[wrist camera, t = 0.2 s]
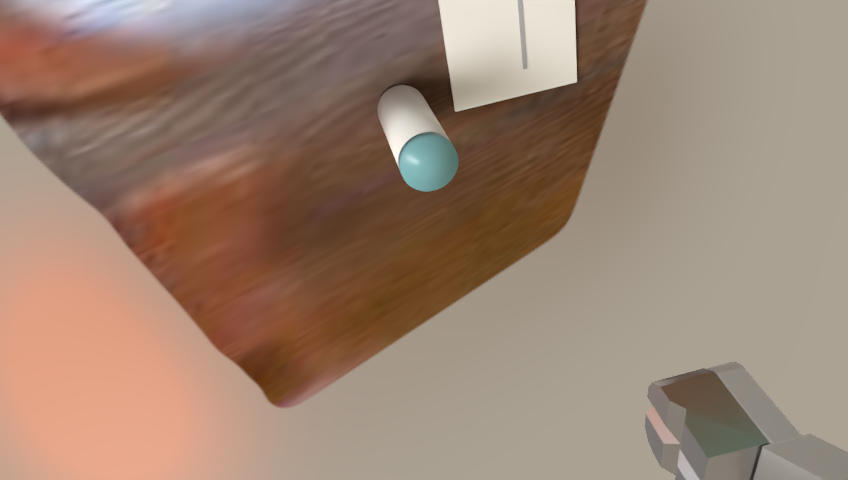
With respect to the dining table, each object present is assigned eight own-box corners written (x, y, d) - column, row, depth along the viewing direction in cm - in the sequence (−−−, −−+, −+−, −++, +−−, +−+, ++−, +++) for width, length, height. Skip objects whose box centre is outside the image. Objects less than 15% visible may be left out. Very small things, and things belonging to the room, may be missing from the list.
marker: (370, 86, 56) (395, 145, 46) (418, 74, 57) (454, 131, 46) (380, 130, 59) (406, 197, 48) (425, 119, 59) (462, 183, 49)
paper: (427, -76, 50) (428, -76, 50) (570, -108, 51) (571, -107, 51) (454, 110, 59) (455, 112, 59) (575, 81, 60) (577, 82, 60)
